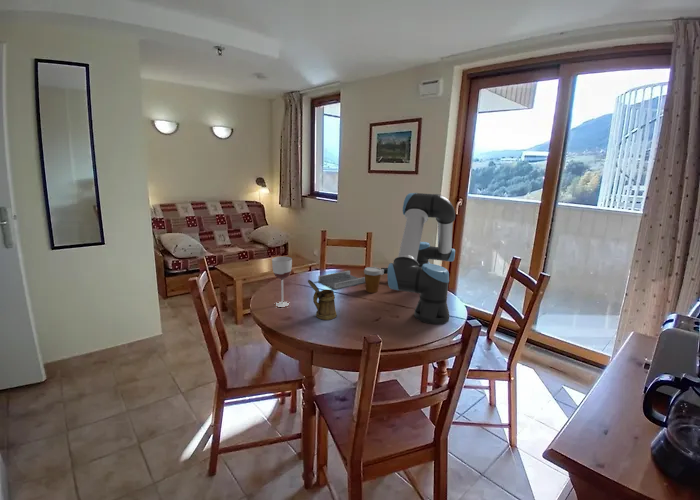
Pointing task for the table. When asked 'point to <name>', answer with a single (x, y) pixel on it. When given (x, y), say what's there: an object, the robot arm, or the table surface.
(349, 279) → the tray
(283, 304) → the wineglass
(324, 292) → the wooden mug
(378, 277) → the disposable coffee cup
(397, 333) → the table surface
